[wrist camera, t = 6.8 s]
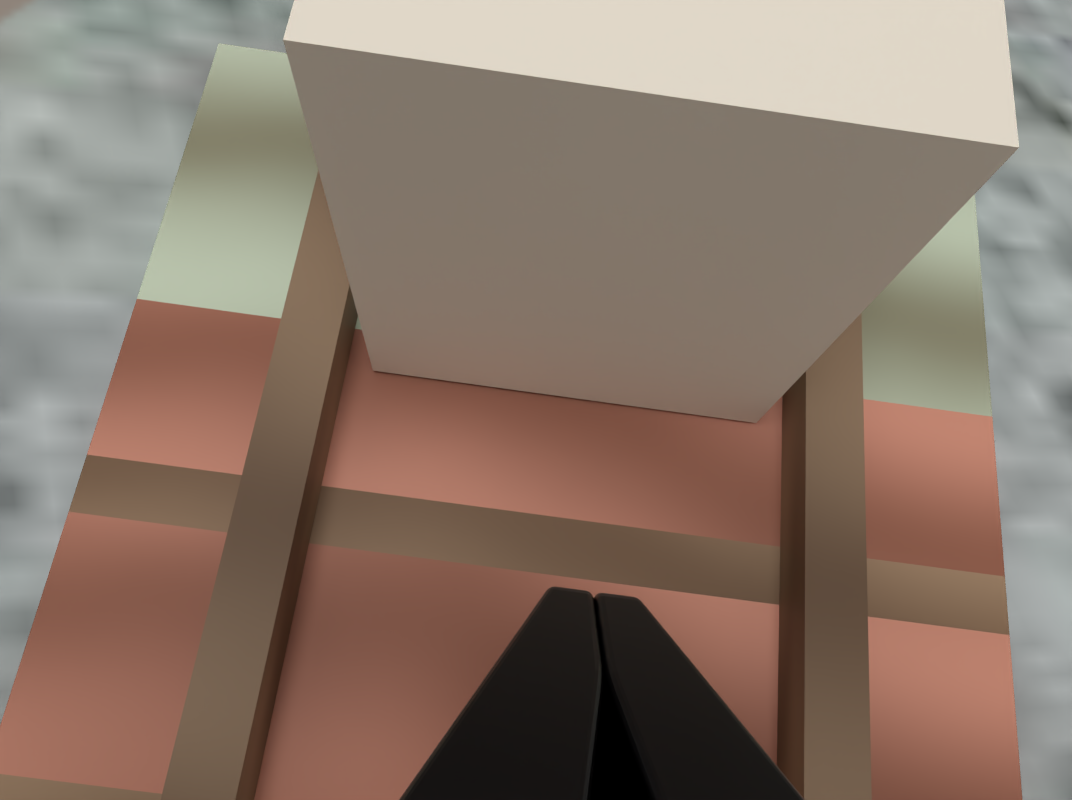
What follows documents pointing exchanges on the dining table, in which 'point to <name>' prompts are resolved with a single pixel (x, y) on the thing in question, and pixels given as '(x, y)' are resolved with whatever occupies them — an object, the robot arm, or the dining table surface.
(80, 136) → the dining table surface
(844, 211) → the cream block
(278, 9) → the dining table surface
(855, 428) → the board
